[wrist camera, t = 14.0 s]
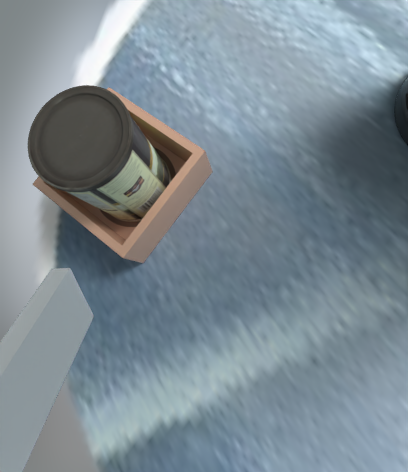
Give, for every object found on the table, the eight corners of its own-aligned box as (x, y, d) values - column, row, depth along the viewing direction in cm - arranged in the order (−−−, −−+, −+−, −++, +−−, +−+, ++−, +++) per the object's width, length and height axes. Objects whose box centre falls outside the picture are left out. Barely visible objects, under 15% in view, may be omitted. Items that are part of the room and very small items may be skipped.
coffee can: (112, 141, 45) (49, 75, 31) (181, 158, 43) (146, 95, 29) (87, 211, 43) (10, 174, 30) (157, 232, 41) (108, 202, 28)
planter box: (129, 115, 46) (108, 87, 39) (212, 171, 42) (204, 150, 36) (63, 199, 45) (32, 184, 39) (143, 263, 42) (123, 258, 35)
